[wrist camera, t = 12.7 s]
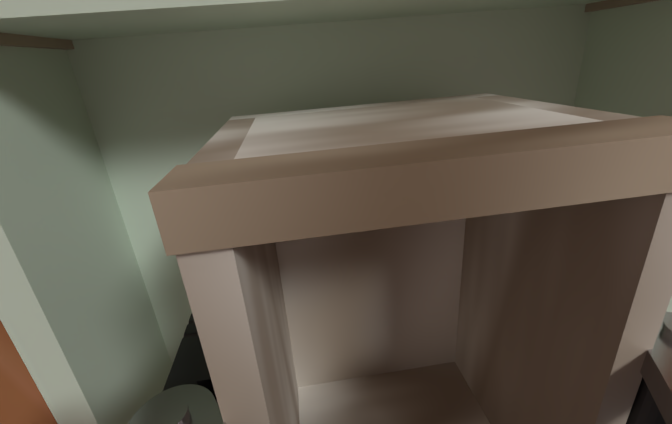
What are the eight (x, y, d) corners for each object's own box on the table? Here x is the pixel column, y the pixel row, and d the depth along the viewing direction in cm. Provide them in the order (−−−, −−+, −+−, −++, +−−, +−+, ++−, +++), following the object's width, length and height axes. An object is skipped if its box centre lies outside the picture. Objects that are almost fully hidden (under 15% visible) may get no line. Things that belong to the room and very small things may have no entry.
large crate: (609, -34, 10) (900, -120, 6) (535, 355, 16) (643, 482, 11) (24, 1, 9) (-297, -75, 4) (173, 416, 15) (119, 593, 10)
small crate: (488, 90, 9) (745, 127, 4) (463, 359, 13) (584, 558, 8) (229, 114, 9) (148, 192, 3) (280, 389, 12) (277, 628, 7)
